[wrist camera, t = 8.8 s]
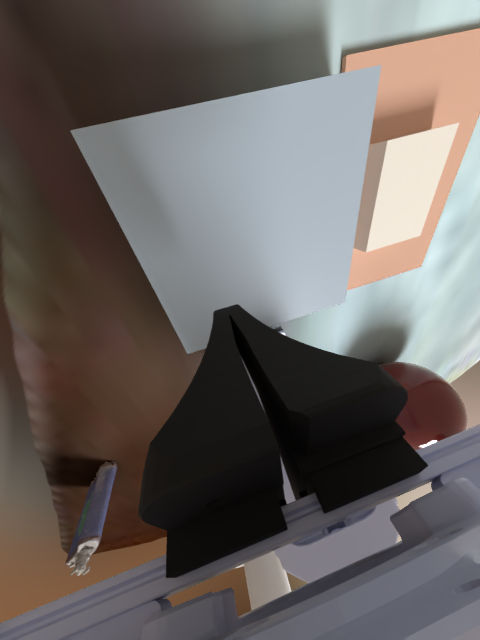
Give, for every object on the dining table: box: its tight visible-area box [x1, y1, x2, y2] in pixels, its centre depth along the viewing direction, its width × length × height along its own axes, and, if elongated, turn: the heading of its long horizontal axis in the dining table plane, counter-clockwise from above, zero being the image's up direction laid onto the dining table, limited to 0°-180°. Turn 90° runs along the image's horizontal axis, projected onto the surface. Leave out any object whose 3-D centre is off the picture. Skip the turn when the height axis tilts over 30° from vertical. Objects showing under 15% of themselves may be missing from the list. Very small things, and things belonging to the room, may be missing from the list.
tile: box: [353, 123, 459, 252], centre depth 17 cm, size 8×6×2 cm
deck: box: [70, 65, 381, 354], centre depth 16 cm, size 15×16×4 cm
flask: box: [66, 461, 117, 575], centre depth 29 cm, size 9×3×11 cm, turn 146°
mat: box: [341, 28, 480, 290], centre depth 18 cm, size 18×13×1 cm
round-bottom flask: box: [379, 362, 467, 451], centre depth 29 cm, size 13×13×20 cm
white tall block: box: [236, 551, 291, 610], centre depth 38 cm, size 11×7×20 cm, turn 163°
